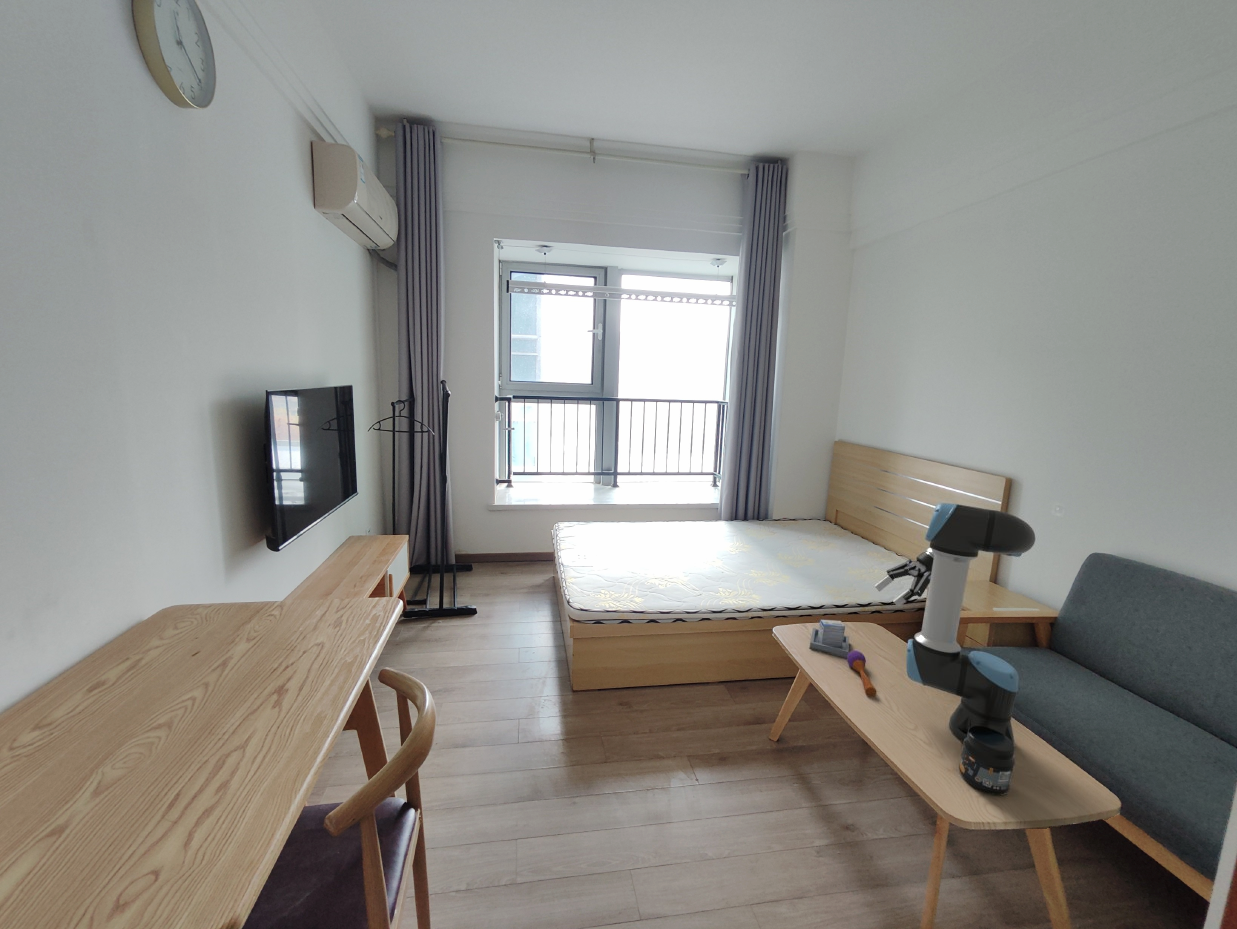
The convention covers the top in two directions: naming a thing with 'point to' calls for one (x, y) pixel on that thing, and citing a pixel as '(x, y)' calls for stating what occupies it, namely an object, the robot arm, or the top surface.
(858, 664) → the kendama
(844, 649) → the tray
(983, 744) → the supplement container
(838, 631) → the medicine box
